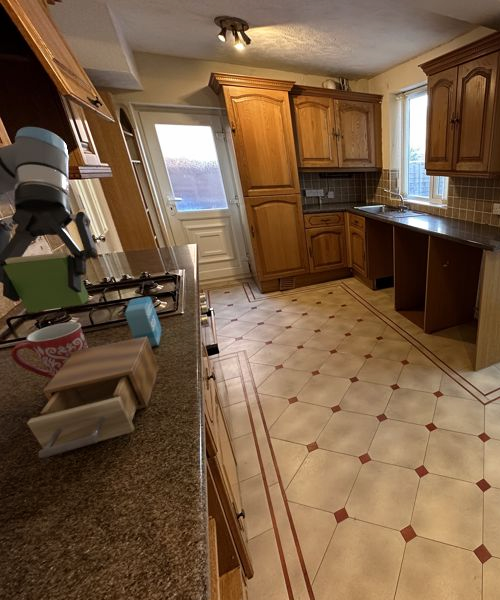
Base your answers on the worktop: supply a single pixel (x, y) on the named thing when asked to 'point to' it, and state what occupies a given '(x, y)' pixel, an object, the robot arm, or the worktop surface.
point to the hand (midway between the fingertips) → (44, 293)
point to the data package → (143, 320)
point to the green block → (43, 282)
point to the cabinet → (110, 368)
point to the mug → (52, 347)
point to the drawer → (85, 415)
